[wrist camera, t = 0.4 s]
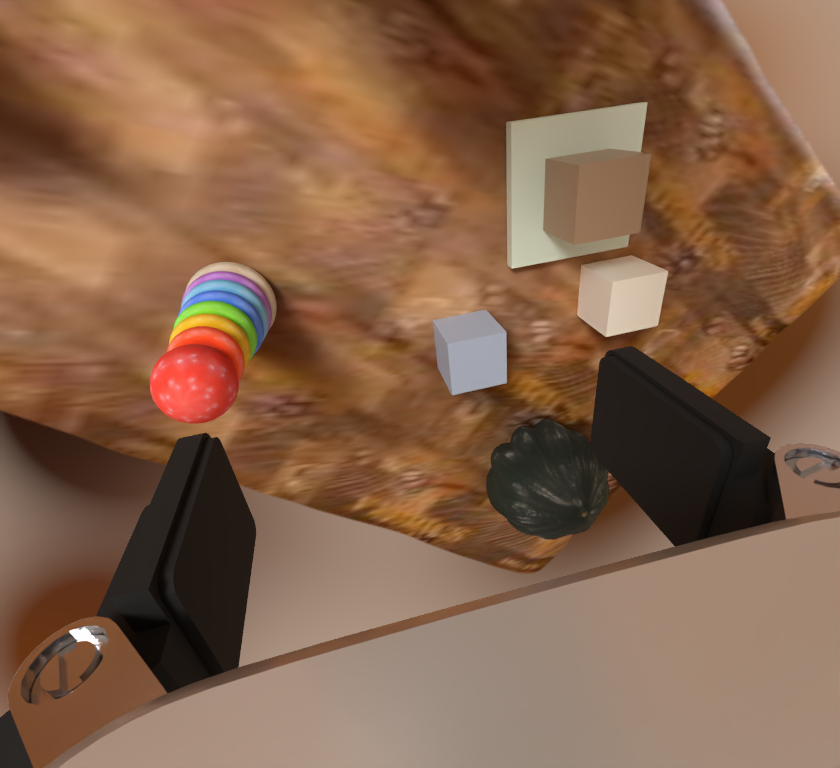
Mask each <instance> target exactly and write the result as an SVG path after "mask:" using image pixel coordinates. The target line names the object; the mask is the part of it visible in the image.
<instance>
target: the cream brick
mask: <svg viewBox="0 0 840 768" xmlns="http://www.w3.org/2000/svg"><path fill="white" fill-rule="evenodd" d="M667 275H668V271H667V270H665V269H662V268H660V267H658V266H655V265H653V264H651V263H648V262H646V261H644V260H641V259H639V258H637V257H635V256H632V255H630V256H625V257H620V258H615V259H610V260H604V261H599V262H594V263H589V264H583V265H581V275H580V287H579V299H578V311H577V316H578V317H580V318H581V319H582V320H584V321H585V322H586V323H588V324H589V325H590V326H592V327H593V328H594V329H596V330H597V331H598V332H600V333H601V334H602V335H604V336H605V337H609V336H613V335H618V334H623V333H627V332H632V331H637V330H641V329H646V328H651V327H655V326H658V322H659V317H660V312H661V306H662V301H663V296H664V291H665V285H666V280H667Z"/></svg>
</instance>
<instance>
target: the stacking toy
mask: <svg viewBox="0 0 840 768" xmlns="http://www.w3.org/2000/svg"><path fill="white" fill-rule="evenodd" d="M276 311H277V305H276V299H275V295H274V293H273V290H272V288H271V287H270V285H269V284H268V282H267V281H266V280H265V279H264V278H263V277H262V276H261V275H260V274H259V273H258V272H256V271H255V270H253V269H251V268H249V267H247V266H245V265H242V264H238V263H233V262H220V263H215V264H211V265H208V266H206V267H204V268H202V269H201V270H199V271H198V272H197V273H196V274H195V275H194V276H193V277H192V278H191V280H190V281H189V283H188V285H187V288H186V291H185V293H184V295H183V299H182V304H181V309H180V312H179V315H178V318H177V319H176V322H175V324H174V328H173V332H172V333H171V336H170V341H169V346H168V349H167V353H166V354H165V355H163V356H162V357H161V358H160V359H159V360H158V361H157V363H156V364H155V366H154V368H153V370H152V373H151V377H150V391H151V394H152V397H153V400H154V401H155V403H156V405H157V406H158V407H159V408H160V410H161V411H162V412H164V413H165V414H166V415H168V416H169V417H171V418H173V419H175V420H177V421H181V422H184V423H204V422H208V421H211V420H214V419H216V418H218V417H219V416H221V415H223V414H224V413H225V412H226V411H227V410H228V409H229V408H230V407H231V405H232V404H233V403H234V401H235V399H236V396H237V393H238V387H239V382H238V381H239V380H240V378H241V376H242V374H243V371H244V369H245V368H246V366H247V365H248V362H249V361H250V359H251V358H252V356H253V355H254V354H255V353H256V352H257V351H258V349H259V348H260V346H261V344H262V342H263V341H264V339H265V337H266V335H267V333H268V331H269V329H270V328H271V326H272V325H273V323H274V320H275V317H276Z"/></svg>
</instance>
